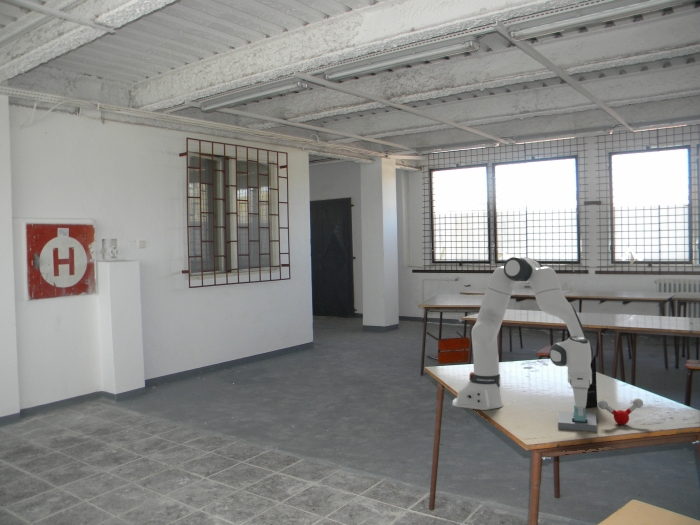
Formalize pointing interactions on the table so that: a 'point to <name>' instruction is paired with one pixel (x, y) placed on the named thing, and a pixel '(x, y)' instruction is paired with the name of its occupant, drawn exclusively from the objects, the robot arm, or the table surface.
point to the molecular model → (620, 415)
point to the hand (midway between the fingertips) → (580, 413)
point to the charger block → (576, 416)
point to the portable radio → (592, 387)
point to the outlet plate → (577, 422)
